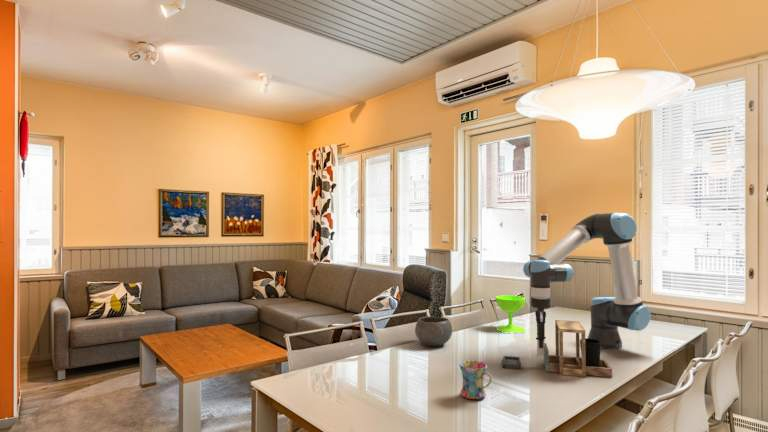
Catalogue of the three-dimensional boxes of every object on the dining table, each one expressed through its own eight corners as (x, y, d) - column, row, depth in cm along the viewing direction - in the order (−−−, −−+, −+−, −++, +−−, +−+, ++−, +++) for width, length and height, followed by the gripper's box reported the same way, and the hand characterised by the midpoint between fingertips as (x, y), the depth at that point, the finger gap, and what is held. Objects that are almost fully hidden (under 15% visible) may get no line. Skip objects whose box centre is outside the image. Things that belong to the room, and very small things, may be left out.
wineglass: (494, 326, 248) (494, 295, 248) (522, 327, 245) (522, 295, 246) (497, 333, 232) (497, 299, 232) (528, 334, 230) (527, 300, 230)
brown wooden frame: (579, 364, 179) (578, 321, 180) (585, 377, 164) (585, 330, 164) (555, 362, 182) (555, 320, 182) (559, 374, 166) (559, 328, 167)
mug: (453, 395, 146) (453, 364, 146) (470, 388, 152) (470, 358, 152) (482, 406, 136) (482, 373, 137) (499, 399, 142) (499, 367, 143)
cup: (600, 369, 172) (600, 339, 173) (602, 375, 165) (602, 344, 166) (579, 367, 175) (579, 337, 176) (580, 372, 168) (580, 342, 169)
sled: (605, 367, 174) (605, 347, 175) (612, 376, 163) (611, 355, 163) (543, 361, 181) (543, 342, 181) (546, 370, 170) (545, 350, 170)
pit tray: (520, 360, 184) (520, 357, 184) (520, 369, 172) (520, 365, 172) (503, 359, 186) (503, 355, 186) (502, 367, 174) (502, 364, 174)
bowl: (410, 347, 204) (410, 321, 204) (421, 338, 220) (421, 313, 221) (447, 351, 197) (447, 324, 197) (455, 342, 214) (455, 316, 214)
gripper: (530, 294, 184) (530, 349, 183) (531, 299, 172) (531, 358, 171) (548, 295, 182) (549, 351, 181) (551, 300, 169) (552, 360, 169)
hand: (540, 354), depth 176 cm, fingers closed
